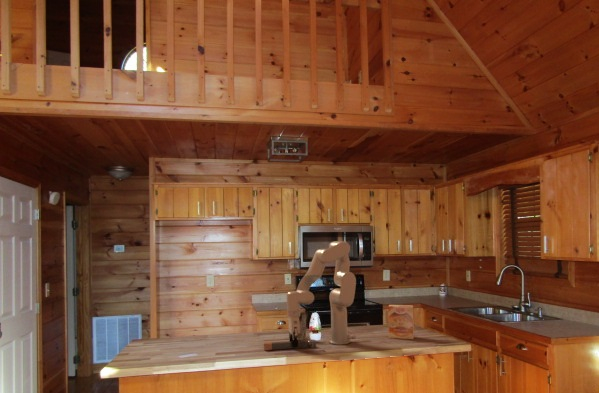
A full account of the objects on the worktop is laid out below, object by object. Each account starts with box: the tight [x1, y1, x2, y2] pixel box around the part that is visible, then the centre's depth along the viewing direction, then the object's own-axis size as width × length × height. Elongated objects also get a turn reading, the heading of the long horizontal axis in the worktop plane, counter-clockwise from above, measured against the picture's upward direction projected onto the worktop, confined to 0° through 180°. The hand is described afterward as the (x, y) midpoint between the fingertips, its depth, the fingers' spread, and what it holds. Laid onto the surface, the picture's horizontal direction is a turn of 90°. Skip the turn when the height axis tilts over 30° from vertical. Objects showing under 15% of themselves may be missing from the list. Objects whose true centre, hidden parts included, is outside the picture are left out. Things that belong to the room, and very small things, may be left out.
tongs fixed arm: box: [265, 339, 317, 349], centre depth 256 cm, size 30×4×4 cm, turn 103°
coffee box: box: [288, 311, 307, 341], centre depth 279 cm, size 9×6×16 cm
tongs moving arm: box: [263, 339, 313, 351], centre depth 254 cm, size 27×2×4 cm, turn 102°
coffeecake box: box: [387, 304, 415, 340], centre depth 280 cm, size 15×7×20 cm, turn 73°
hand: (293, 345), depth 256 cm, fingers open, 6 cm apart
